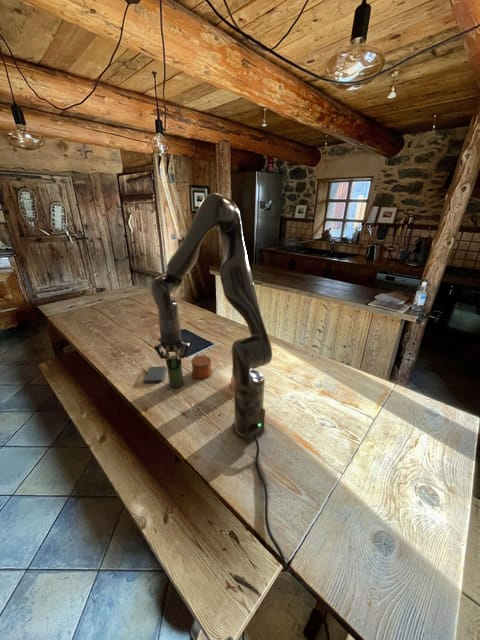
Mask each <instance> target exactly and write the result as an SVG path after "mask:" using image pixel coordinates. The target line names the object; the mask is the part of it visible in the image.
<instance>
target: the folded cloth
mask: <svg viewBox="0 0 480 640" xmlns="http://www.w3.org/2000/svg"><path fill="white" fill-rule="evenodd" d="M166 369H167V365H162V366H149V367H148V370H147V373H146V375H145V377H144V379H143V381H144V384H148V383H149V384H151V383H162V382H163V380H164V376H165V374H166V373H165V372H166Z"/></svg>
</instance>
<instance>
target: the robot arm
mask: <svg viewBox="0 0 480 640" xmlns="http://www.w3.org/2000/svg"><path fill="white" fill-rule="evenodd" d="M213 229H214V230H218V233H219V235H220V236H219V237H220V239H221V243H222V252H223V253H222V260H221V264H220V269H219V277H220V283H221V286H222V292H223V294H224V298H225V299H226V300H227V302H228V303H229V304H230V305H231V306H232V307H233V309H234V310H235V311H236V312H237V313H238V314H239V315H240V316H241V317H242V318H243V320H244V321H245V323H246V325H247V327H248V331H249V333H250V336H248V337H244V338H240V339H237V340H235V341H233V343H232V345H231V349H232V352H231V360H232V367H233V376H234V382H235V390H234V426H233V427H234V430H235V432H236V434H237V435H238V436H240V437H242V438H244V439H246V440H247V442H248V443H252V442H255V446H256V453H255V464H256V468H257V471H258V474H259V476H260V479H261V482H262V485H263V490H264V521H265V527H266V531H267V534H268V536H269V539H270V540H271V542H272V544H273V545H274V547H275V549H276V550H277V552H278V555H279V557H280V560H281V563H282V568H283V569H284V570H286V569H288V568H287V566H288V565H287V561H286V558H285V555H284V552H283V551H282V549H281V546H280V545H279V543H278V542H277V539H276V538H275V537H274V535H273V533H272V531H271V527H270V526H271V525H270V522H269V492H268V486H267V485H268V484H267V483H266V480H265V477H264V474H263V472H262V469H261V466H260V461H259V454H260V443H259V441H258V438H260V437H262V434H263V433H265V424H266V423H265V420H266V409H265V408H264V400H265V399H264V398H265V385H266V384H265V383H266V380H265V377H264V375H263V374H262V373H261V372H260V371H258V370H255V369H258V368H260V367H265V366H268V365H269V364H270V363H271V362H272V359H273V351H272V350H273V349H272V345H271V341H270V338H269V335H268V332H267V328H266V326H265V323H264V320H263V317H262V314H261V309H260V305H259V302H258V298H257V293H256V287H255V283H254V279H253V274H252V270H251V267H250V264H249V258H248V254H247V249H246V245H245V241H244V235H243V234H244V233H243V225H242V219H241V212H240V209H239V207H238V204H236V202H235V201H234V200H232V199H230V198H228V197H226V196H224V195H222V194H221V193H216V192H212V193H209V194H207V195H206V196H205V197H204V198H203V199H202V201H201V203H200V204H199V207H198V208H197V209H196V212H195V214H194V216H193V219H192V220H191V223H190V225H189V227H188V229H187V232H186V234H185V236H184V238H183V239H182V242H181V244H180V245H179V246H178V248H177V249H176V251H175V252H174V253H173V255H172V256H171V257H170V259H169V260H168V262H167V264H166V271H165V272H164V273H163V274H161V275H159V276H157V277H154V278H153V280H152V281H151V283H150V292H151V295H152V298H153V300H154V302H155V305H156V307H157V315H158V327H159V335H160V342H159V343H157V342H155V345H154V347H153V349H154V350H155V352H156V353H157V355H158V356H159V359H161V360H163V359H165V364H166V365H165V366H166V367H168V368H170V367H171V366H170V358H169V357H170V356H171V353H174V355H176V356H177V365H178V367H180V366H181V365H182V363H183V362H182V359H185V358H186V356H187V353H188V351H189V348H190V345H191V344H190V342H185V341H184V340H183V339H182V329H181V320H180V317H179V316H180V315H179V307H178V306H179V305H178V303H177V301H176V300H174V299H172V297H171V294H173V293H174V292H176V291H177V290H178V289H179V288H180V286H182V283H183V281H184V279H185V277H186V276H187V275H188V273H189V272H190V271H191V269H192V268H193V267H194V266H195V264H196V263H197V260H198V258H199V256H200V250H201V245H202V243H203V240H204V239H205V237H206V236H207V235H208V234H209V232H210V231H211V230H213ZM182 347H183V352H181V348H182ZM162 348H163V349H164V350H165V352H164V350H163V349H162Z"/></svg>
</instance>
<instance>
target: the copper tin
mask: <svg viewBox="0 0 480 640" xmlns="http://www.w3.org/2000/svg"><path fill="white" fill-rule="evenodd" d="M190 363H191V369H192V376H193V377H194V378H195V379H198V380H203V379H207V378H209V377H210V376H211V375H212V359H211V357H210V356H208V355H197V356H194V357H193V358H192V359H191V362H190Z"/></svg>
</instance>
